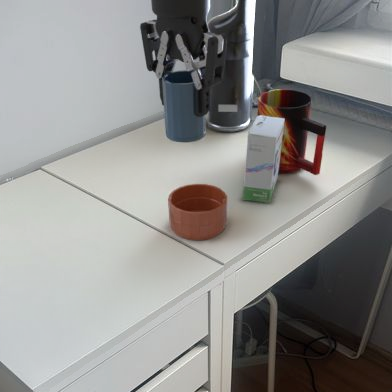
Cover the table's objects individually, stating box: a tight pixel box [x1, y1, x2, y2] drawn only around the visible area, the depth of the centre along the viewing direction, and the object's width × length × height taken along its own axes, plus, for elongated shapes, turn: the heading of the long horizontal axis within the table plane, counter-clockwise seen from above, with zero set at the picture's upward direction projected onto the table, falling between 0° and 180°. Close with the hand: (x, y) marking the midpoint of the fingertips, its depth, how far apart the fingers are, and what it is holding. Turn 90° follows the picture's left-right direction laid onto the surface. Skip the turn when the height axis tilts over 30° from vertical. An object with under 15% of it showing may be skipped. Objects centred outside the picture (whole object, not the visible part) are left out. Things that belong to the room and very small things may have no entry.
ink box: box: [242, 115, 285, 204], centre depth 88 cm, size 9×5×12 cm, turn 164°
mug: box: [257, 88, 327, 176], centre depth 95 cm, size 10×14×12 cm
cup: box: [162, 69, 207, 144], centre depth 73 cm, size 6×6×8 cm
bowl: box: [167, 183, 228, 241], centre depth 82 cm, size 9×9×5 cm
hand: (184, 109), depth 74 cm, fingers closed on cup, 6 cm apart
